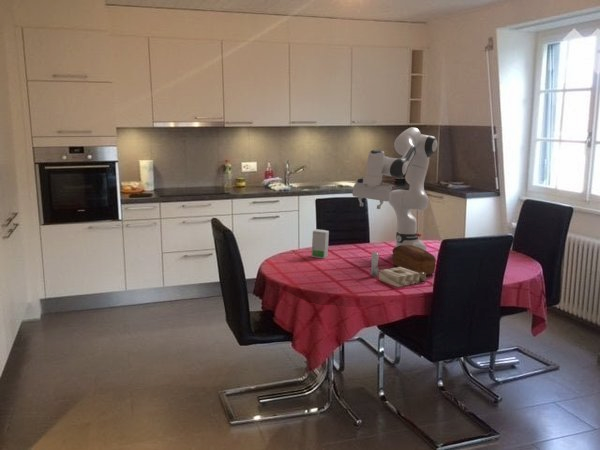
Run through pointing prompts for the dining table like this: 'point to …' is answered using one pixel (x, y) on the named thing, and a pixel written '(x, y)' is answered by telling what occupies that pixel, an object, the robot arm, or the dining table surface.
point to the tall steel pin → (374, 264)
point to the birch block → (398, 276)
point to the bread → (414, 259)
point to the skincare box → (320, 243)
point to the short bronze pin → (422, 277)
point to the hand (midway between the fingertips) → (369, 207)
